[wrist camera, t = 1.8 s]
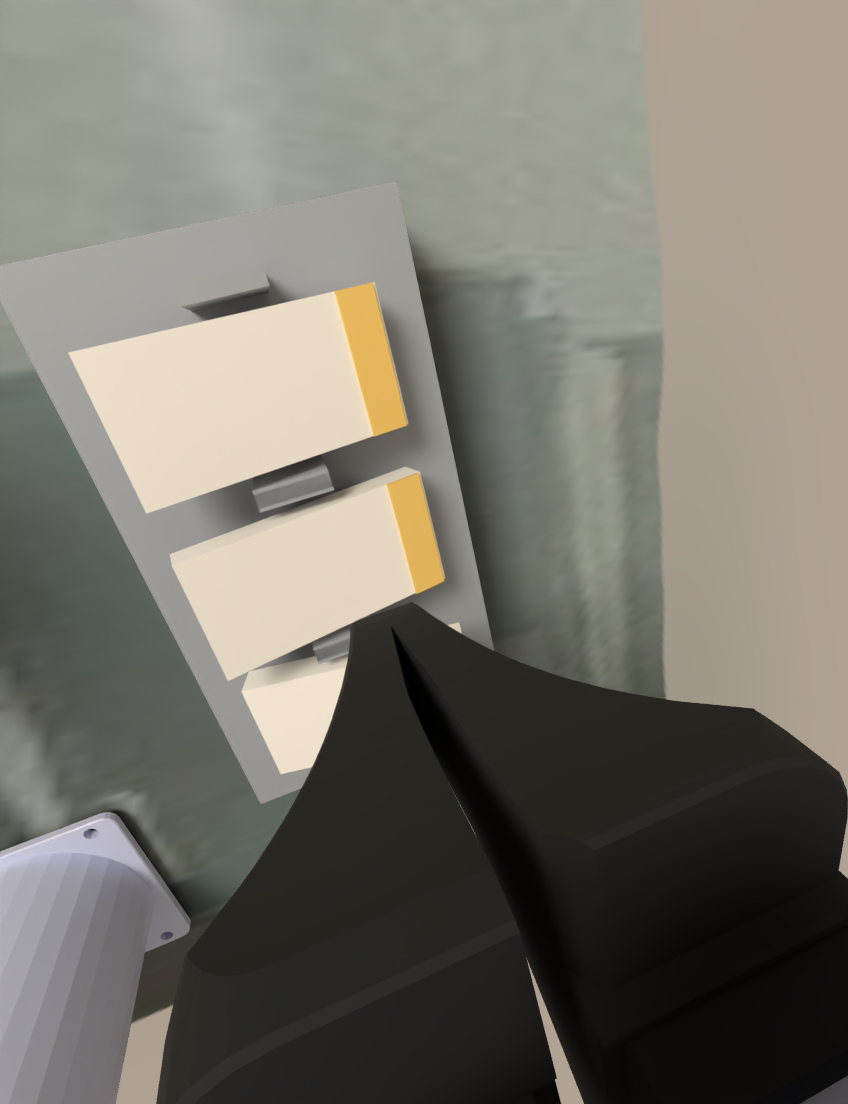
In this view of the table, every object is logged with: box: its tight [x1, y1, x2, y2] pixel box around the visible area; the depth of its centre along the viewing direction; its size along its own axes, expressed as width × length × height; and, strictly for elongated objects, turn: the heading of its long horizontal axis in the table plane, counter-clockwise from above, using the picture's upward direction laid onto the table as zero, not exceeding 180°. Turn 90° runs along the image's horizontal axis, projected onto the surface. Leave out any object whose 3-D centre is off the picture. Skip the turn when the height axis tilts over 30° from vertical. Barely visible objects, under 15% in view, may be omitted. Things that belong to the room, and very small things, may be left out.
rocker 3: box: [241, 623, 462, 774], centre depth 17 cm, size 7×4×1 cm, turn 104°
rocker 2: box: [170, 467, 446, 681], centre depth 15 cm, size 7×4×1 cm, turn 105°
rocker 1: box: [68, 282, 408, 514], centre depth 13 cm, size 7×4×1 cm, turn 105°
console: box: [0, 181, 494, 804], centre depth 17 cm, size 10×18×5 cm, turn 14°
